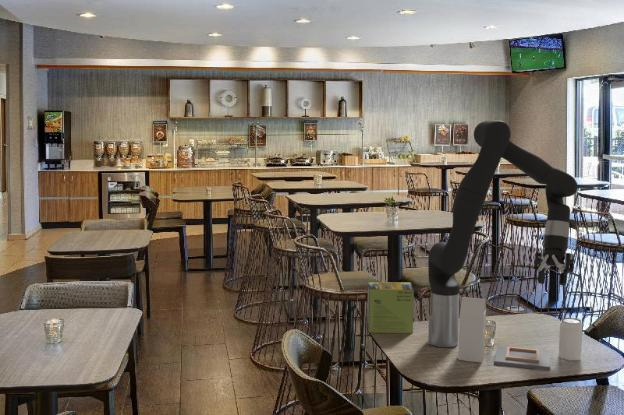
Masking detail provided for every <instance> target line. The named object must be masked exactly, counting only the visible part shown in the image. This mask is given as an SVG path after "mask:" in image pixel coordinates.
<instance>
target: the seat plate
mask: <svg viewBox="0 0 624 415" xmlns="http://www.w3.org/2000/svg"><path fill="white" fill-rule="evenodd" d="M550 352H551V350H548V349H547V350H546V349H539V348H527V347H518V346H510V345H509V346H508V345H497V344H496V350H495V355H494V361H493V362H494V363H493V364H494V365H497V366H506V367H515V368H516V367H517V368H525V369H535V370H542V371H543V370H544V371H551V353H550Z"/></svg>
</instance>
